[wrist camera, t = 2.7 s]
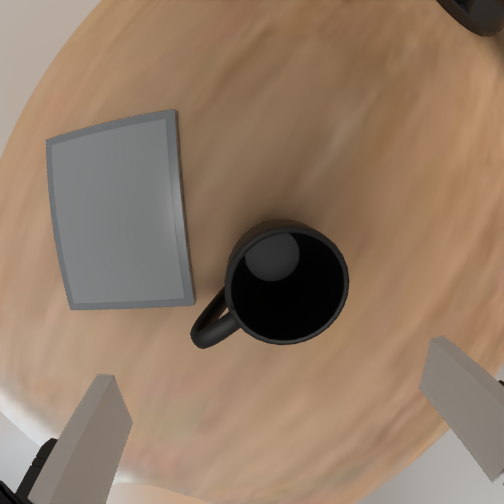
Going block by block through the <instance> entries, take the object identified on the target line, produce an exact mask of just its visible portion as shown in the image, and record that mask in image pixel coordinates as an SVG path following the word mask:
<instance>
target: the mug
mask: <svg viewBox="0 0 504 504" xmlns="http://www.w3.org/2000/svg"><path fill="white" fill-rule="evenodd" d="M348 289H349V275H348V267H347V265H346V262H345V260H344V257H343V255H342V253H341V252H340V250H339V249H338V248H337V246H336V245H335V244H334V243H333V242H332V241H331V240H330V239H328V238H327V237H326V236H325V235H323V234H322V233H320V232H319V231H317V230H315V229H313V228H311V227H309V226H307V225H305V224H303V223H301V222H296V221H292V220H272V221H267V222H263V223H261V224H259V225H257V226H255V227H253V228H251V229H250V230H249V231H248V232H246V233H245V234H244V235H243V236H242V237H241V239H240V240H239V241H238V242H237V244H236V245H235V246H234V248H233V251H232V253H231V255H230V257H229V260H228V265H227V270H226V276H225V286H224V287H223V288H222V289H221V291H220V292H219V293H218V294H217V295H216V296H215V298H214V299H213V300H212V301H211V302H210V304H209V305H208V306H207V307H206V308H205V310H204V311H203V312H202V314H201V315H200V316H199V317H198V319H197V320H196V322H195V323H194V325H193V327H192V329H191V332H190V335H191V339H192V341H193V343H194V344H195V345H196V346H197V347H198V348H201V349H206V348H208V347H211V346H213V345H215V344H217V343H219V342H221V341H222V340H224V339H225V338H227V337H228V336H230V335H231V334H233V333H234V332H235V331H237V330H238V329H239V328H242V329H243V330H244V331H245V332H246V333H248V334H249V335H251V336H252V337H254V338H255V339H258V340H260V341H263V342H266V343H270V344H276V345H291V344H297V343H301V342H305V341H307V340H309V339H312V338H314V337H316V336H318V335H319V334H321V333H322V332H323V331H325V330H326V329H327V328H329V326H330V325H331V324H332V323H333V322H334V321H335V320H336V319H337V317H338V316H339V314H340V312H341V311H342V309H343V307H344V305H345V302H346V299H347V296H348ZM227 307H228V310H229V312H228V313H226V314H225V315H224V316H222V317H221V318H220V319H219V317H220V316H221V315H222V313H223V312H224V311H225V309H226V308H227Z"/></svg>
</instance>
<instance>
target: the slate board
mask: <svg viewBox="0 0 504 504" xmlns="http://www.w3.org/2000/svg"><path fill="white" fill-rule="evenodd" d="M46 157H47V176H48V189H49V200H50V209H51V217H52V224H53V231H54V237H55V243H56V249H57V254H58V259H59V264H60V269H61V274H62V278H63V282H64V287H65V291H66V295H67V299H68V302H69V306H70V310H102V309H133V308H155V307H174V306H190V305H195V302H196V297H195V290H194V283H193V276H192V268H191V261H190V253H189V245H188V236H187V228H186V219H185V209H184V199H183V188H182V177H181V165H180V151H179V137H178V119H177V111H176V110H175V109H173V110H166V111H160V112H155V113H149V114H144V115H138V116H134V117H129V118H124V119H119V120H115V121H111V122H107V123H103V124H99V125H95V126H91V127H87V128H83V129H80V130H76V131H73V132H69V133H66V134H63V135H60V136H56V137H53V138H50V139H47V140H46Z"/></svg>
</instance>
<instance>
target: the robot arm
mask: <svg viewBox="0 0 504 504" xmlns="http://www.w3.org/2000/svg"><path fill="white" fill-rule="evenodd" d="M438 2H439V3H440V4H441V5H442V6H443V7H444V8H445V9H446V10H447V11H448V12H449V13H450V14H451V15H452V16H453V17H454V18H455V19H456V20H457V21H458V22H460V23H461V24H462V25H463V26H465V27H466V28H468V29H469V30H471V31H472V32H474V33H476V34H478V35H481V36H491V35H493V34H496V33H498V32H500V31H501V30H502V28H503V27H504V0H438ZM419 389H420V390H421V391H422V393H423V394H424V395H425V396H426V397H427V399H428V400H429V401H430V402H431V404H432V405H433V406H434V407H435V409H436V410H437V411H438V412H439V414H440V415H441V416H442V417H443V419H444V420H445V421H446V422H447V424H448V425H449V426H450V428H451V429H452V430H453V431H454V433H455V434H456V435H457V436H458V438H459V439H460V440H461V442H462V443H463V444H464V446H465V447H466V448H467V449H468V451H469V452H470V453H471V455H472V456H473V457H474V459H475V460H476V461H477V463H478V464H479V465H480V467H481V468H482V469H483V471H484V472H485V474H486V475H487V476H488V478H489V479H490V480H491V482H494V481H495V480H497V479H498V478H499V477H501V476H502V475H504V382H503V381H501V380H500V381H497V380H496V379H495V378H493V377H492V376H491V375H490V374H489V373H488V372H487V371H486V370H484V369H483V368H482V367H481V366H480V365H479V364H477V363H476V362H475V361H474V360H473V359H472V358H470V357H469V356H468V355H467V354H466V353H464V352H463V351H462V350H461V349H460V348H459V347H457V346H456V345H455V344H454V343H452V342H451V341H450V340H449V339H448V338H446V337H445V336H444V335H443V336H439V337H436V338H433V339H431V340H430V345H429V350H428V354H427V359H426V363H425V367H424V371H423V375H422V379H421V382H420V386H419ZM132 424H133V421H132V419H131V417H130V415H129V412H128V410H127V407H126V405H125V403H124V400H123V398H122V395H121V393H120V390H119V387H118V385H117V382H116V379H115V377H114V375H107V374H98V375H97V376H96V378H95V379H94V381H93V382H92V384H91V386H90V387H89V389H88V390H87V392H86V394H85V395H84V397H83V399H82V400H81V402H80V403H79V405H78V407H77V408H76V410H75V412H74V413H73V415H72V417H71V418H70V420H69V422H68V424H67V425H66V427H65V429H64V430H63V432H62V434H61V436H60V437H59V439H54V438H51V439H50V440H48V441H47V442H46V443H45V444H44V445H42V447H41V448H40V450H39V452H38V453H37V455H36V458H35V459H34V460H33V462H32V466H30V467H29V469H28V471H27V473H26V475H25V476H24V478H23V480H22V482H21V484H20V486H19V487H18V489H17V491H16V493H15V494H14V493H13V492H12V491H11V490H10V489H9V488H8V487H7V486H6V484H4V483H3V482H2V481H0V504H106V501H107V497H108V494H109V491H110V488H111V485H112V482H113V479H114V476H115V473H116V470H117V467H118V464H119V461H120V458H121V455H122V452H123V450H124V447H125V444H126V441H127V438H128V435H129V433H130V430H131V427H132Z"/></svg>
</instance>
